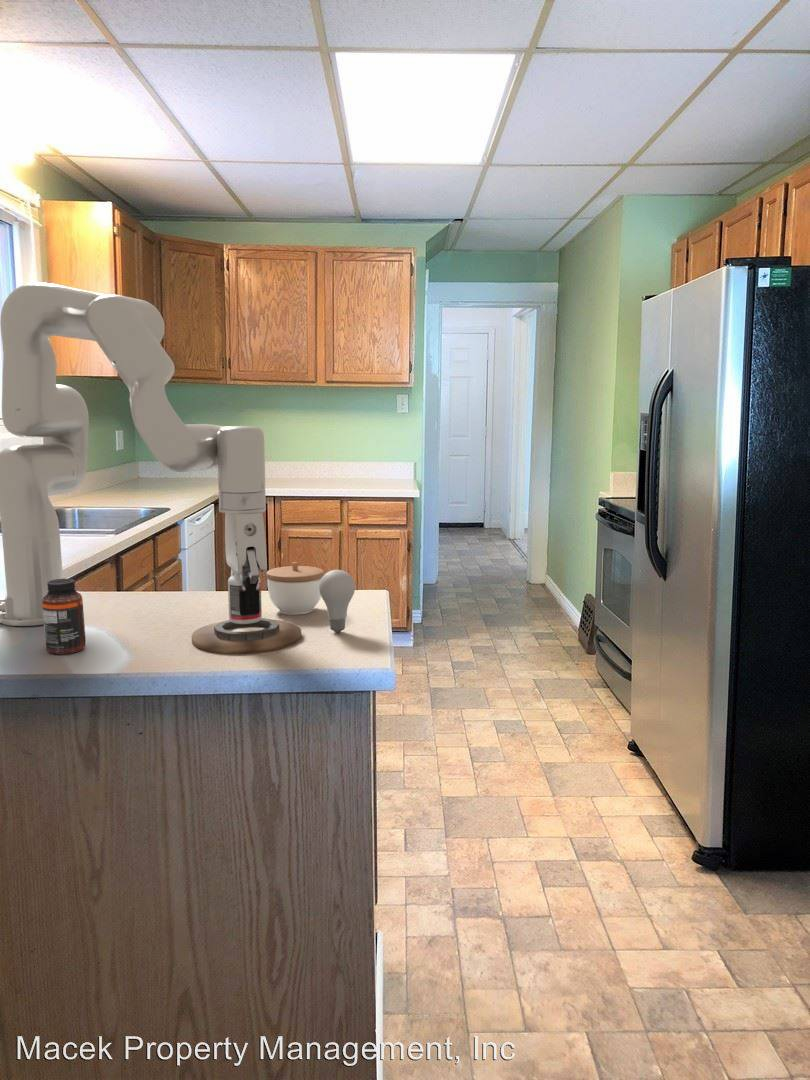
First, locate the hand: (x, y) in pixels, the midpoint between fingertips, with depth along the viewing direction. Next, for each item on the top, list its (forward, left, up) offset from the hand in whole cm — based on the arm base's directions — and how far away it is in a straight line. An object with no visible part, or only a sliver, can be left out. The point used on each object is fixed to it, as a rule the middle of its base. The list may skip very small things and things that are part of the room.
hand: (245, 609), depth 138 cm
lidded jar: (+13, +15, -5) cm, 21 cm away
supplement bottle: (-28, +5, -5) cm, 29 cm away
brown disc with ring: (0, 0, -5) cm, 5 cm away
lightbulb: (+15, -3, -5) cm, 16 cm away
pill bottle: (0, 0, -2) cm, 2 cm away
